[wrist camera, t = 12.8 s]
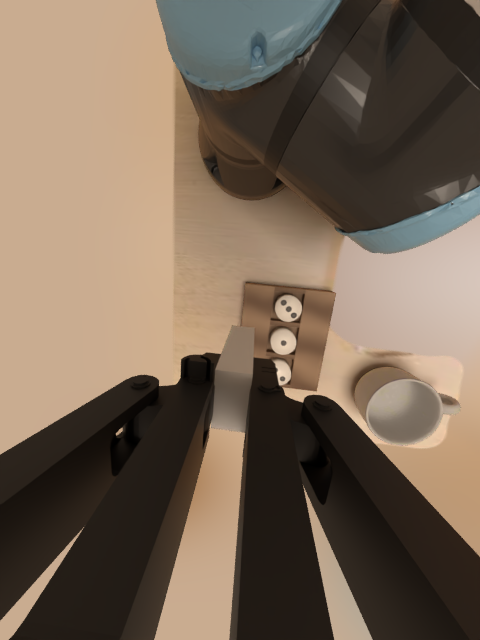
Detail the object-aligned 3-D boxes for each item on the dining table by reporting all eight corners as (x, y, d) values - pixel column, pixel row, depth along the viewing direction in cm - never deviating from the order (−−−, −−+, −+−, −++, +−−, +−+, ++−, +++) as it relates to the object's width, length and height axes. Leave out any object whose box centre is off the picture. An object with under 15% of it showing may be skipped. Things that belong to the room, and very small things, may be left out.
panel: (246, 282, 39) (245, 283, 36) (331, 291, 38) (336, 293, 36) (236, 374, 43) (235, 381, 41) (313, 383, 42) (316, 391, 40)
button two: (267, 355, 40) (268, 361, 38) (290, 358, 40) (292, 364, 38) (264, 376, 41) (265, 384, 39) (287, 378, 41) (289, 386, 39)
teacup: (341, 409, 43) (360, 441, 36) (354, 354, 41) (377, 377, 33) (418, 418, 43) (454, 453, 35) (436, 364, 40) (479, 388, 32)
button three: (275, 292, 38) (277, 294, 35) (300, 294, 38) (304, 297, 35) (272, 316, 39) (273, 320, 36) (296, 318, 39) (299, 323, 36)
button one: (271, 324, 39) (272, 329, 36) (295, 327, 39) (298, 332, 36) (268, 347, 40) (269, 353, 37) (291, 349, 40) (294, 356, 37)
